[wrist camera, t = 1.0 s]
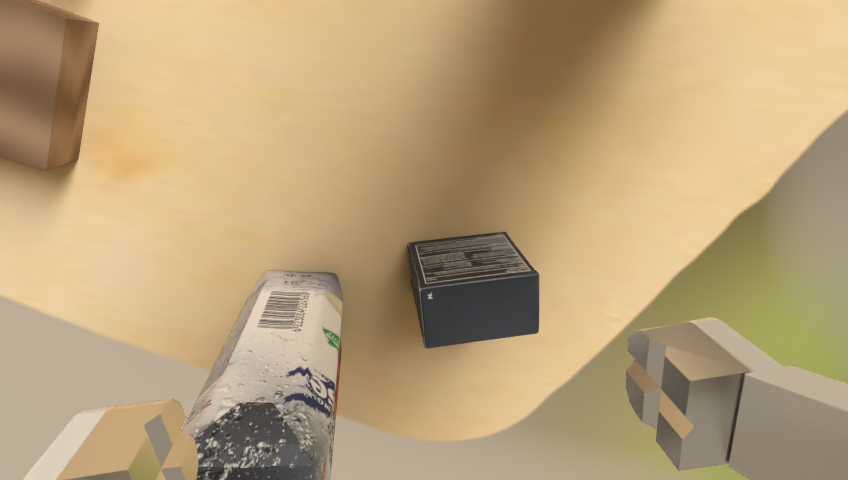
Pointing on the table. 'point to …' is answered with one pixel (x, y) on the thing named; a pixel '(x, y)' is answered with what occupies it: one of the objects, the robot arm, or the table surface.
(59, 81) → the walnut block
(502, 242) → the small box
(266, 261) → the table surface
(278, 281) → the juice carton
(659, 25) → the table surface
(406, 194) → the table surface
